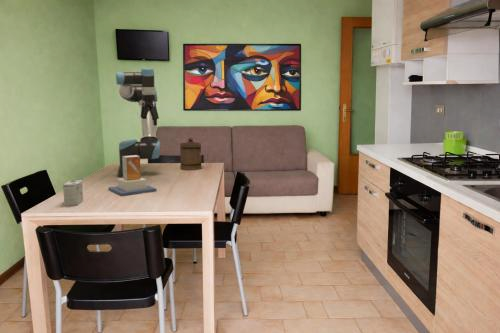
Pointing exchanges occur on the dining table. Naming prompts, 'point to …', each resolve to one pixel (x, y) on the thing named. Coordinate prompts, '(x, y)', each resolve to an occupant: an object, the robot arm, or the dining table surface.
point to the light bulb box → (73, 192)
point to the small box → (131, 167)
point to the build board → (124, 193)
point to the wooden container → (190, 155)
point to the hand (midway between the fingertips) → (149, 130)
